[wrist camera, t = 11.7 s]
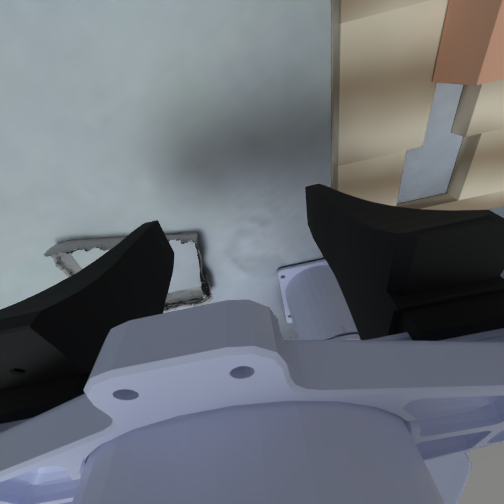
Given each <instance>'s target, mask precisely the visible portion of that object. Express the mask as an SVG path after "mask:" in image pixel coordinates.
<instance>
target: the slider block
mask: <svg viewBox="0 0 504 504" xmlns="http://www.w3.org/2000/svg"><path fill="white" fill-rule="evenodd" d="M501 79H504V0H449V4H448V9H447V14H446V18H445V23H444V28H443V33H442V38H441V42H440V47H439V52H438V57H437V61H436V66H435V71H434V76H433V80H432V82H437V83H451V84H464V85H480V84H485V83H489V82H493V81H497V80H501Z"/></svg>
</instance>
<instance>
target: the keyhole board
mask: <svg viewBox="0 0 504 504" xmlns="http://www.w3.org/2000/svg"><path fill="white" fill-rule="evenodd" d="M448 4H449V0H332V96H331V188H332V189H335V190H337V191H340V192H343V193H345V194H348V195H351V196H354V197H357V198H361V199H364V200H367V201H371V202H376V203H380V204H385V205H390V206H397V207H405V208H413V209H426V210H487V209H492V208H497V207H501V206H504V79H501V80H497V81H493V82H489V83H485V84H480V85H464V87H463V91H462V95H461V98H460V102H459V105H458V109H457V113H456V116H455V120H454V123H453V127H452V130H451V133H454V134H457V135H461V136H464V138H463V141H462V144H461V148H460V151H459V154H458V157H457V160H456V164H455V167H454V170H453V173H452V176H451V180H450V183H449V186H448V189H447V192H446V194H442V195H437V196H433V197H428V198H423V199H419V200H414V201H410V202H405V203H401V204H397V199H398V194H399V189H400V183H401V178H402V172H403V167H404V161H405V156H406V150H411V149H415V148H420V147H423V142H424V137H425V133H426V128H427V124H428V119H429V115H430V110H431V106H432V101H433V96H434V92H435V87H436V83H437V82H432V80H433V76H434V71H435V66H436V61H437V57H438V52H439V47H440V42H441V38H442V33H443V28H444V23H445V18H446V14H447V9H448Z"/></svg>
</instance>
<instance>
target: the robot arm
mask: <svg viewBox="0 0 504 504" xmlns="http://www.w3.org/2000/svg"><path fill="white" fill-rule="evenodd" d="M305 190H306V204H307V219H308V226H309V228H310V231H311V233H312V236H313V238H314V240H315V242H316V244H317V246H318V248H319V249H320V251H321V253H322V254H323V256H324V258H325V259H323V260H318V261H313V262H308V263H304V264H299V265H294V266H289V267H285V268H281V269H279V270H278V278H279V283H280V289H281V294H282V299H283V305H284V310H285V316H286V321H287V322H288V323H293V325H294V329H295V333H296V337H297V340H291V339H283V337H282V335H281V332H280V328H279V323H278V319H277V318H276V316H275V315H274V314H273V312H272V311H271V310H270V308H269V307H267V306H264V305H261V304H259V303H256V302H253V301H251V300H226V301H221V302H216V303H211V304H207V305H202V306H197V307H192V308H187V309H182V310H178V311H173V312H168V313H163V310H164V305H165V301H166V297H167V293H168V289H169V285H170V281H171V277H172V273H173V266H174V252H173V250H172V248H171V246H170V244H169V242H168V240H167V238H166V236H165V234H164V232H163V230H162V228H161V226H160V224H159V222H158V220H157V221H152V222H148V223H145V224H143V225H141V226H140V227H138V228H137V229H136V230H134V231H133V232H132V233H131V234H129V235H128V236H127V237H126V238H124V239H123V240H122V241H121V242H119V243H118V244H117V245H116V246H114V247H113V248H112V249H110V250H109V251H108V252H106V253H105V254H104V255H103V256H101V257H100V258H99V259H97V260H96V261H94V262H93V263H91V264H90V265H88V266H87V267H85V268H84V269H82V270H80V271H79V272H77V273H76V274H74V275H72V276H70V277H69V278H67V279H65V280H63V281H61V282H59V283H58V284H56V285H54V286H52V287H50V288H48V289H46V290H44V291H42V292H40V293H38V294H36V295H34V296H32V297H29V298H27V299H25V300H23V301H21V302H18V303H16V304H14V305H11V306H9V307H6V308H4V309H1V310H0V504H458V503H459V500H460V498H461V495H462V493H463V490H464V488H465V485H466V482H467V480H468V478H469V475H470V472H471V468H472V463H471V461H470V459H469V457H468V455H469V450H473V449H477V448H482V447H485V446H490V445H494V444H498V443H503V442H504V279H503V278H502V277H501V276H500V275H501V273H502V271H503V270H504V218H502V217H501V216H499V215H497V214H495V213H493V212H492V211H490V210H426V209H413V208H405V207H397V206H390V205H385V204H380V203H376V202H371V201H367V200H364V199H361V198H357V197H354V196H351V195H348V194H345V193H343V192H340V191H337V190H335V189H332V188H330V187H327V186H324V185H321V184H316V185H311V186H307V187H305ZM282 275H284V276H282Z"/></svg>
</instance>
